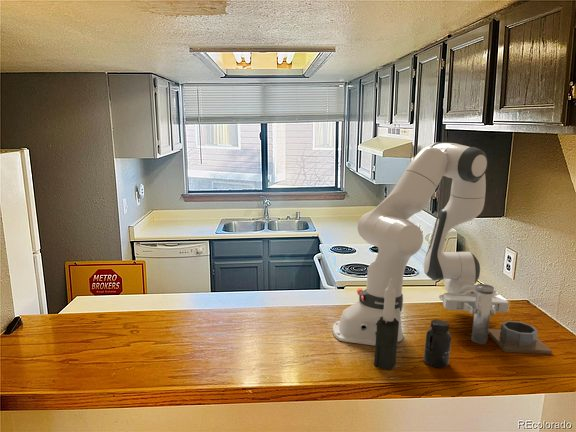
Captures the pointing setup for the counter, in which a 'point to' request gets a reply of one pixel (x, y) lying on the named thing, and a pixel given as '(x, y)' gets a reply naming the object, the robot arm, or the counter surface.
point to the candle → (387, 332)
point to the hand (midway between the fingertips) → (483, 311)
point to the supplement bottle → (437, 344)
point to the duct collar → (518, 338)
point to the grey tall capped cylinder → (482, 313)
